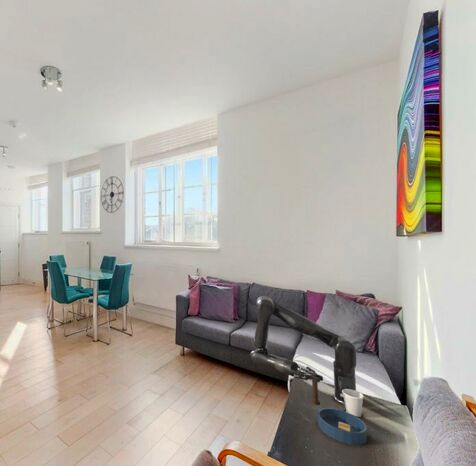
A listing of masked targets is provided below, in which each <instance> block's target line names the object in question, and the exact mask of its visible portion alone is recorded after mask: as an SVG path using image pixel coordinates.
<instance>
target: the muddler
mask: <svg viewBox="0 0 476 466" xmlns="http://www.w3.org/2000/svg"><path fill="white" fill-rule="evenodd" d="M317 374H318V373H317V372H316V371H315V372H312V375H313V376H316V377H317ZM311 382H312V383H311V384H312V385H311V387H312V398H311V399H310V400H311V404H313V405H314V406H321V401H320V400H319V382H316V381H313V380H311Z"/></svg>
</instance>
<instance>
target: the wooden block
mask: <svg viewBox="0 0 476 466" xmlns="http://www.w3.org/2000/svg"><path fill="white" fill-rule="evenodd" d="M338 428H339V429H341V430H345V431H349V432H351V431H350V425H348V424H345V423H342V422H339V426H338Z"/></svg>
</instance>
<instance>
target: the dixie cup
mask: <svg viewBox="0 0 476 466" xmlns="http://www.w3.org/2000/svg"><path fill="white" fill-rule="evenodd" d="M342 392H343V396H344V401H345V405H344V406H345V411H346V412H348V413H350V414H353V415H355V416H356V417H358V418H361V417H362V413H363V404H364V403H363V402H364V398H365V396H364V395H363V393H361V392H359V391H358V390H356V391H355V390H351V389H344V390H342Z"/></svg>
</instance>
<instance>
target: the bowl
mask: <svg viewBox="0 0 476 466" xmlns="http://www.w3.org/2000/svg"><path fill="white" fill-rule="evenodd" d="M339 422H342V423H345V424H348V425H350V431H351V432H349V431H345V430H341V429H339V428H338V426H339ZM317 425H318V428H319V429H320V430H321V432H323V433H324V434H325V435H327V437H329V438H332V439H333V440H336V441H338V442H340V443H343V444H348V445H350V446H351V445H352V446H353V445H354V446H360V445H365V444H366V443H367V442H368V425H366V423H365V422H364V420H362V419H361V418H360V417H359V416H355V415H353V414H350V413H348V412H346V410H342V409H338V408H334V407H324V408H320V409H318V411H317Z"/></svg>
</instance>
